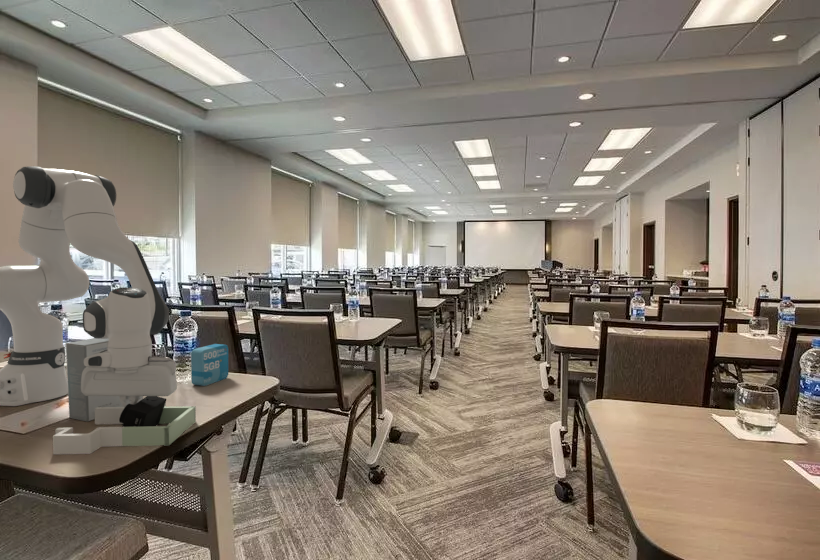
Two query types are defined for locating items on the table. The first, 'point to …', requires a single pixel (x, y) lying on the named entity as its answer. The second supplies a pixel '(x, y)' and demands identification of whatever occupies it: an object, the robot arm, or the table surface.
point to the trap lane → (124, 431)
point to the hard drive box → (78, 402)
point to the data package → (209, 364)
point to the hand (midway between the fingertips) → (130, 413)
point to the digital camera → (143, 412)
